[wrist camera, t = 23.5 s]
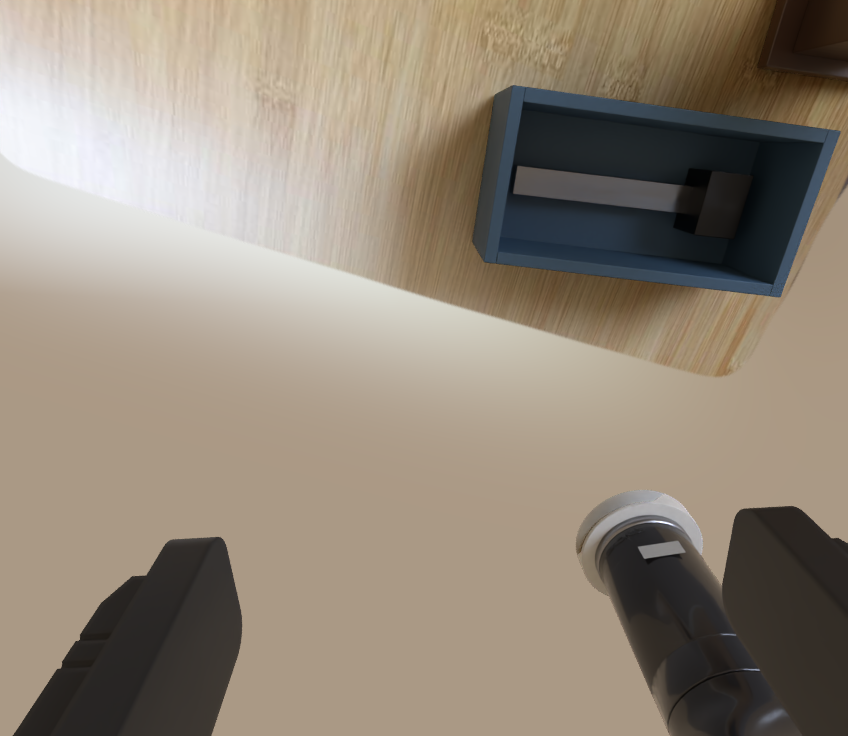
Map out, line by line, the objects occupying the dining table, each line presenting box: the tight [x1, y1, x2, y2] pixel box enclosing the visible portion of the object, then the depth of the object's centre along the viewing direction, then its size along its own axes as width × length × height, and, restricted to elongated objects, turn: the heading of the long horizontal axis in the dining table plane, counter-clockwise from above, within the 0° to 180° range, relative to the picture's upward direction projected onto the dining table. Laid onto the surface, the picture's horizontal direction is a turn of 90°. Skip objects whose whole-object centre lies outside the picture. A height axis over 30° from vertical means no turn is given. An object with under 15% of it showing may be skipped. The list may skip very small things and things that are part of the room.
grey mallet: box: [510, 165, 754, 239], centre depth 41 cm, size 16×4×4 cm, turn 84°
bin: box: [472, 85, 840, 297], centre depth 40 cm, size 21×11×8 cm, turn 83°
